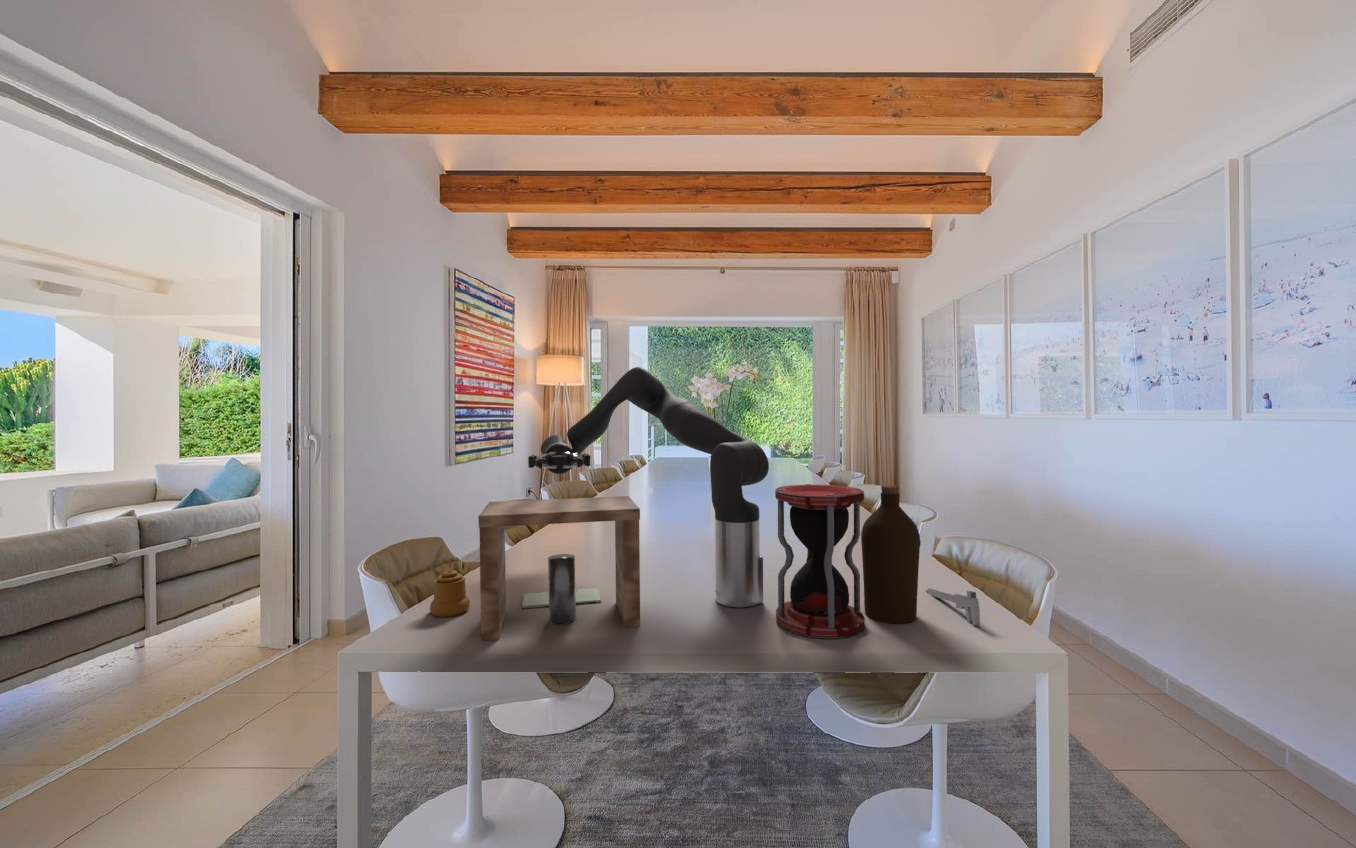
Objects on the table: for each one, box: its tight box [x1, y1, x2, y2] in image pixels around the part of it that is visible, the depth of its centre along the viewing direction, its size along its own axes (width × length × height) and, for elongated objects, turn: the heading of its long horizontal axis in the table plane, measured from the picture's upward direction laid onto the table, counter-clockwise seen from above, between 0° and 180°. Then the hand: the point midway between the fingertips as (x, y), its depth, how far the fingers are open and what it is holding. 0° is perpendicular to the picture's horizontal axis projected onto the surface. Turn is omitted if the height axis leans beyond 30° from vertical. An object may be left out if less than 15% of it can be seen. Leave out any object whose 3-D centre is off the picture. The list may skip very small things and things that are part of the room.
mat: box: [521, 587, 602, 609], centre depth 118 cm, size 16×8×1 cm, turn 102°
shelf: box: [478, 495, 641, 642], centre depth 106 cm, size 28×16×22 cm, turn 102°
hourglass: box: [774, 483, 866, 640], centre depth 104 cm, size 16×16×25 cm
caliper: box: [925, 587, 981, 627], centre depth 111 cm, size 20×1×6 cm, turn 0°
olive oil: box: [860, 484, 922, 625], centre depth 107 cm, size 11×11×25 cm
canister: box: [547, 553, 577, 625], centre depth 106 cm, size 5×5×12 cm
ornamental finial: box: [429, 569, 471, 618], centre depth 111 cm, size 8×8×8 cm
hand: (559, 463), depth 125 cm, fingers open, 8 cm apart
